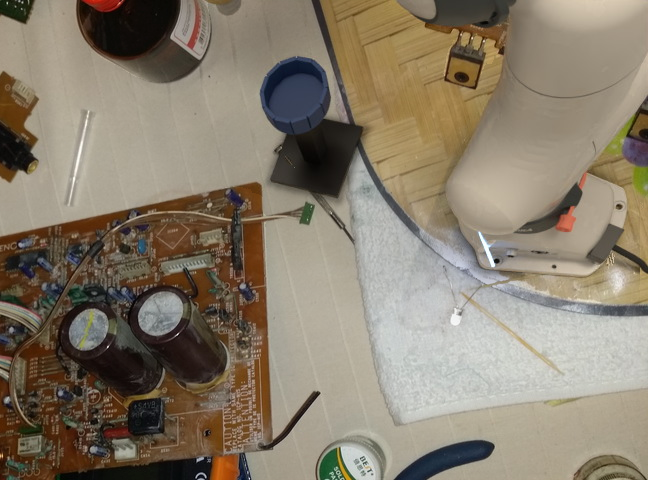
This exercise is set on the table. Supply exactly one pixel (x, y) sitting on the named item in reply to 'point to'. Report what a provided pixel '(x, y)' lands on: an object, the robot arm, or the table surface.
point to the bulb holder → (295, 95)
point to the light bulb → (226, 6)
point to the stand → (318, 158)
